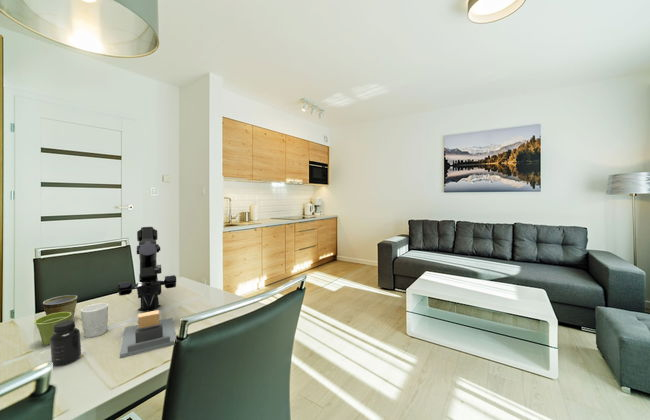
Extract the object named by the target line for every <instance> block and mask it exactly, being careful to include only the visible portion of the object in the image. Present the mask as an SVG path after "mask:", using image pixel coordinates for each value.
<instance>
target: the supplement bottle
mask: <svg viewBox="0 0 650 420" xmlns="http://www.w3.org/2000/svg"><path fill="white" fill-rule="evenodd" d="M80 331H81V330H80V329H79V328H77V327H76V322H75V320H74V319H73V320H68V321H63V322H60V323H57V324H56V325H54V334H53V335H52V336H51V338H50V344H49V345H50V357H51V358H50V359H51V363H52V362H53V364H52V365H53V366H54V367H60V366H66V365H69V364H72V363H73V362H76V361H77V360H78V359H79V358H80V357H81V356H82V346H81V332H80Z"/></svg>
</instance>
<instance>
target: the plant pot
mask: <svg viewBox="0 0 650 420" xmlns="http://www.w3.org/2000/svg"><path fill="white" fill-rule="evenodd" d="M70 316H71V313H70V312H59V313H53V314H49V315H46V314H45V315H43V316H41V317H38V318H37V319H35V320H34V322H33V323H34V325H36V328H38V333H39V335H40V339H41V344H42V345H44V346H48V345H50V338H51V336H52V335H53V334H54V325H56V324H57V323H60V322H63V321H68V320H69V319H70Z"/></svg>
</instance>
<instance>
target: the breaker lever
mask: <svg viewBox="0 0 650 420" xmlns="http://www.w3.org/2000/svg"><path fill="white" fill-rule="evenodd" d="M159 320H160V310H159V309H157V310H152V311H145V312H141V313H138V314H137V322H138V323H137V324H138V325H139V326H138V327H137V330H141V329H146V328H151V327H155V326H160V325H161V322H159Z"/></svg>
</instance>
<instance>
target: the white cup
mask: <svg viewBox="0 0 650 420" xmlns="http://www.w3.org/2000/svg"><path fill="white" fill-rule="evenodd" d="M80 315H81V323H82V324H81V325H82V331H83V336H84V338H95V337H98V336H102V335H104V334H105V333H106V332H107V331H108V323H109V321H108V320H109V304H108V303H106V302H105V303H104V302H102V303H101V302H100V303H92V304H89V305H86V306H84V307H82V308H81V309H80Z"/></svg>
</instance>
